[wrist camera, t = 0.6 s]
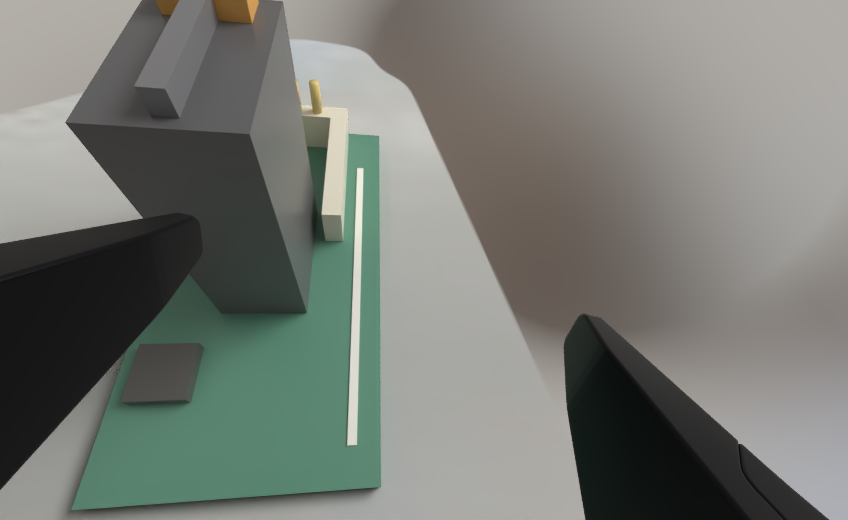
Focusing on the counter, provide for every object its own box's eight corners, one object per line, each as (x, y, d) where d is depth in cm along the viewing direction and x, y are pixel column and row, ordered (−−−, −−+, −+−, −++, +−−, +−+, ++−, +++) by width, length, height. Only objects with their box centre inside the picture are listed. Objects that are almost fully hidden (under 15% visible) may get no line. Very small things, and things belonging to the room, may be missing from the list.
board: (379, 487, 20) (386, 486, 15) (82, 509, 18) (-36, 519, 13) (378, 143, 33) (381, 78, 28) (207, 132, 31) (176, 60, 26)
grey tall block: (307, 312, 23) (240, 106, 11) (221, 313, 23) (40, 91, 10) (317, 211, 27) (278, -27, 15) (245, 208, 27) (137, -44, 14)
